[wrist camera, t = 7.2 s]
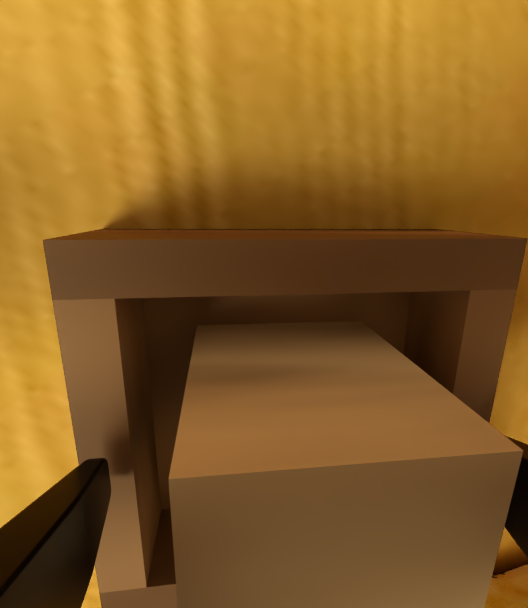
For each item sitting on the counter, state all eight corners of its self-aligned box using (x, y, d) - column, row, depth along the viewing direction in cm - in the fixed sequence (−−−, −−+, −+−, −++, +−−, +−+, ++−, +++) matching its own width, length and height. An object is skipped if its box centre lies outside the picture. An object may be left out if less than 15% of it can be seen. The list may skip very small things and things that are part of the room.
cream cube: (348, 457, 12) (465, 683, 6) (202, 468, 11) (186, 730, 6) (361, 320, 11) (523, 450, 5) (197, 325, 10) (168, 479, 4)
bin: (400, 490, 14) (456, 579, 11) (134, 516, 13) (104, 625, 9) (435, 229, 11) (527, 238, 8) (101, 229, 10) (42, 239, 7)
